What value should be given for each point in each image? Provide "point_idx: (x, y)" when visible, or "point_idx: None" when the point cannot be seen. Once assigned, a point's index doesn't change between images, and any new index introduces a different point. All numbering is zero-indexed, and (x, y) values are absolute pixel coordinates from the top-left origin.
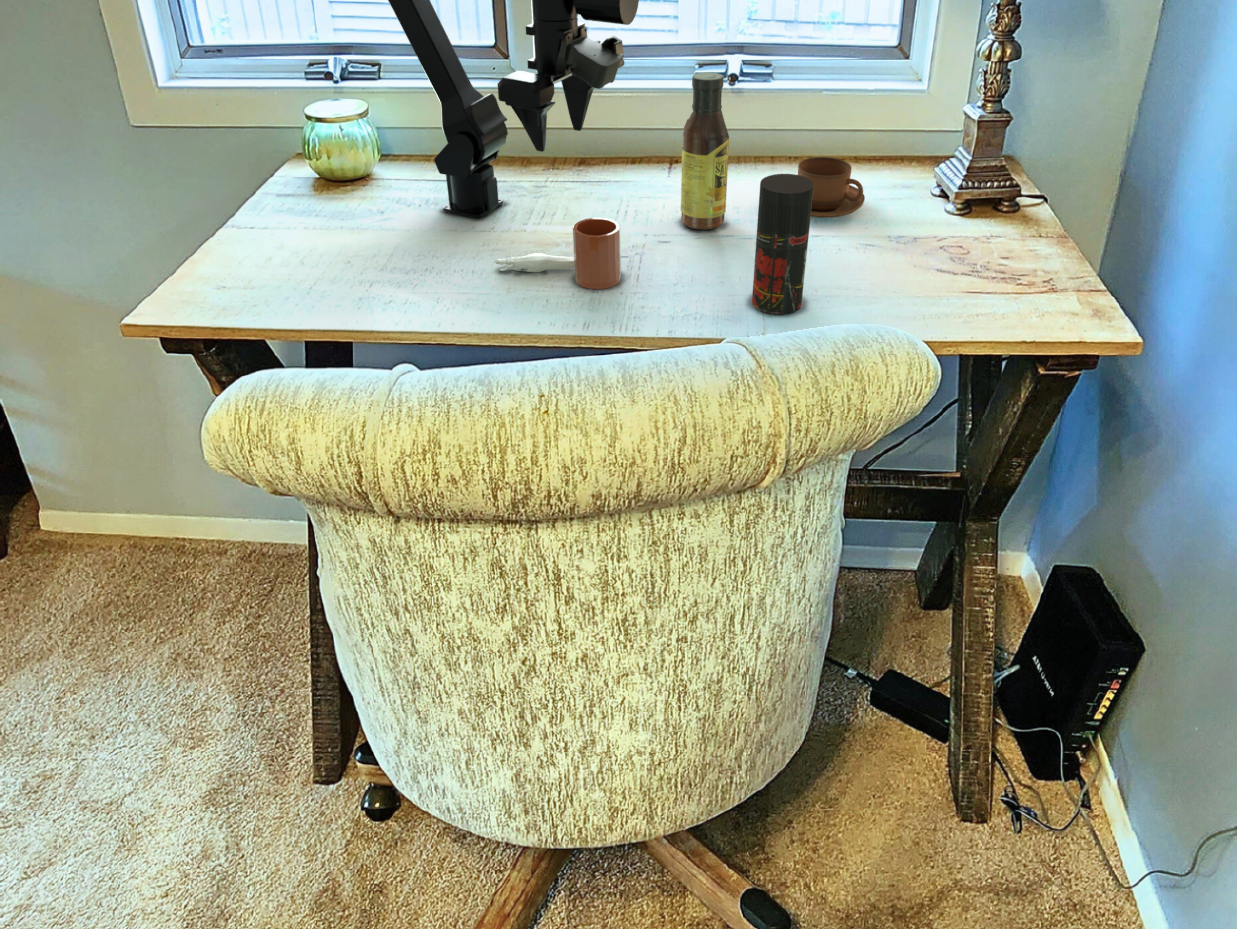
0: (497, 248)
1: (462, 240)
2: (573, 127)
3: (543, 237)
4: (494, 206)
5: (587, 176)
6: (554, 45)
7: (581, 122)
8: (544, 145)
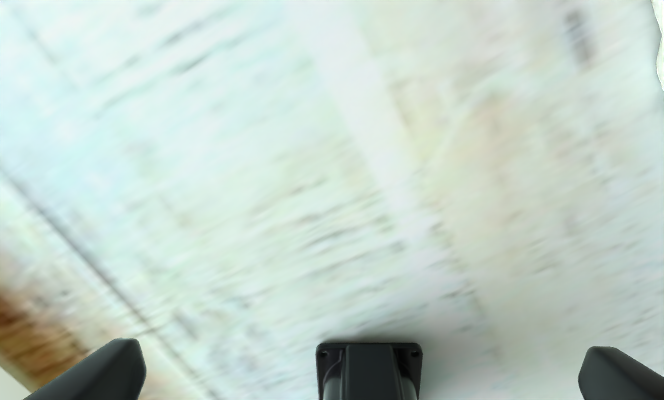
0: (560, 229)
1: (538, 314)
2: (141, 386)
3: (455, 165)
4: (368, 345)
5: (54, 269)
6: None
7: (95, 377)
8: (637, 372)
